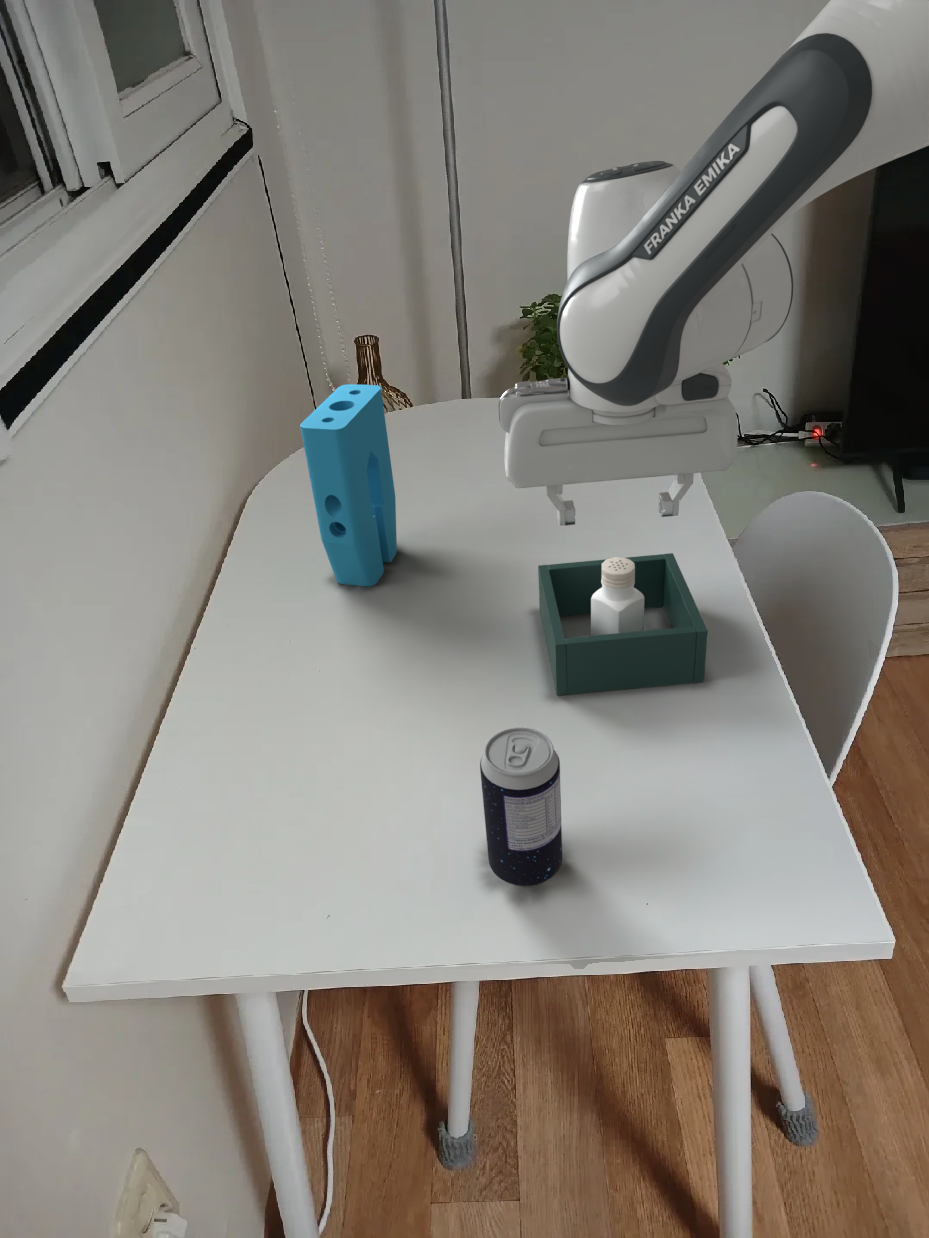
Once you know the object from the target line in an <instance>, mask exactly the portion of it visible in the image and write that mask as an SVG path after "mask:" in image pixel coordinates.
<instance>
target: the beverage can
mask: <svg viewBox="0 0 929 1238" xmlns="http://www.w3.org/2000/svg"><path fill="white" fill-rule="evenodd" d="M479 769H480V771H479V772H480V780H481V782H480V783H481V791H482V804H483V815H484V824H485V835H486V846H487V856H488V857H487V859H488V864H489V868H490V869H491V871H492V872H493V873H494V875H495V876H496V877H497V878H499V879H500V880H502V881H503V882H505V883H508V884H510V885H514V886H518V887H519V886H520V887H531V886H536V885H540V884H543V883H545V882H547V881H549V880H550V879H551V878H553V877H554V876H555V875H556V874H557V872H558V871H559V869H560V868H561V865H562V863H563V835H562V834H563V832H562V831H563V830H562V829H563V828H562V799H561V792H562V791H561V763H560V758H559V755H558V753H557V751H556V750H555V748H554V744H553V742H552V741H551V739H550V738H549V737H548V736H547V735H546V734H545V733H543V732H541V731H539V730H537V729H534V728H528V727H510V728H506V729H503V730H501V731H498V732H497V733H496V734H494V735H493V736H492V737H490V738H489V740H488V741H487V743H486V744H485V747H484V753H483V754H482V756H481V759H480V761H479Z"/></svg>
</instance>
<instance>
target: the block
mask: <svg viewBox="0 0 929 1238" xmlns="http://www.w3.org/2000/svg"><path fill="white" fill-rule="evenodd" d="M382 392H383V391H382V387H381V386H380V385H377V384H356V383H348V384H342V385H340V386H338V387H337V388H336V389H335V390H334V391H333V392H332V393H331V394H330V395H329V396H328V397H327V398H326V399H324V401H322V403H321V404H319V406H317V407H316V409H314V410H313V411H312V412H311V413H310V414H309V415H308V416H307V417H306V418H305V419H304V420H303V421H302V422H301V423H300V425H299V427H300V433H301V439H302V443H303V449H304V455H305V459H306V464H307V470H308V475H309V482H310V486H311V491H312V496H313V503H314V507H315V512H316V518H317V523H318V528H319V535H320V540H321V542H322V545H323V548H324V551H325V553H326V556H327V558H328V561H329V564H330V567H331V569H332V572H333V575H334V578H335V580H336V582H337V583H338V584H341V585H348V586H357V587H358V586H359V587H373V586H375V585H377V583H379V580H380V579H381V578H382V576H383V575H384V572H385V570H384V563H391V562H392V561H393V559H394V558H395V556H396V555H397V552H398V551H397V550H398V548H397V547H398V546H397V509H396V507H397V506H396V504H397V503H396V491H395V482H394V475H393V468H392V461H391V460H392V459H391V453H390V447H389V439H388V438H389V437H388V431H387V424H386V415H385V409H384V399H383V393H382Z"/></svg>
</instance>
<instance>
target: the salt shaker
mask: <svg viewBox="0 0 929 1238" xmlns="http://www.w3.org/2000/svg"><path fill="white" fill-rule="evenodd" d="M604 560H605V559H604ZM601 583H602V588H600V589H599V590H597V591H596V592H595V593H594V594H593V595H592V597H591V613H590V636H593V635H604V634H615V633H626V632H637V631H644V626H645V625H644V623H645V622H644V621H645V608H644V599H645V598H644V596H643V594H642V593H641V592H640V591H638V590H637V589H636V588H634V584H635V563H634V562H632V561H631V560H630V559H627V557H623V556H616V557H615V556H614V557H610V558H607V560H605V561H604V562H603V563H602V579H601Z"/></svg>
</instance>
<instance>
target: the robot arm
mask: <svg viewBox="0 0 929 1238" xmlns="http://www.w3.org/2000/svg"><path fill="white" fill-rule="evenodd" d="M926 147H929V0H829V1H828V2H827V3H826V5H825V6H824V7H823V8H822V9H821V10H820V11H819V12H818V14H817V15H815V17H814V19H812V21H811V22H810V23H809V24H808V25H807V26H806V28H805V29H804V30H803V31H802V32H801V33H800V34H799V35H798V36H797V37H796V39H795V40H794V41H793V42H792V43H791V44H790V45H789V47H788V48H787V49H786V50H785V52H783V54H781V56H780V57H779V58H778V59H777V61H775V62H774V64H773V65H772V66H771V67H770V68H769V69H768V71H766V72H765V74H764V75H763V76H762V77H761V78H760V80H759V81H757V82H756V83H755V84H754V85H753V87H752V88H751V89H750V90H749V91H748V92H747V93H746V94H745V95H744V96H743V97H742V98H741V99H740V100H739V102H738V103H737V104H736V105H735V107H733V108H732V110H731V111H730V112H729V113H728V114H727V115H726V116H725V118H724V119H723V120H722V121H721V123H720V124H719V125H718V126H717V128H715V129H714V131H713V132H712V133H711V134H710V135H709V137H708V138H707V139H706V141H704V143H703V144H702V146H701V147H700V148H699V149H698V150H697V152H696V153H695V154H694V155H693V156H692V157H691V159H690V160H689V161H688V162H687V163H686V165H685V166H683V168H682V170H680V169H679V167H677V165H675V164H673V163H670V162H666V161H663V160H650V161H649V160H648V161H643V162H642V161H641V162H636V163H630V164H629V165H628V164H627V165H623V166H616V167H613V168H608V169H606V170H605V169H604V170H602V171H597V172H594V173H592V174H590V175H589V176H587V177H585V179H583V180H582V182H581V183H579V184H578V187H577V188H576V191H575V194H574V197H573V201H572V204H571V210H570V215H569V222H568V223H569V225H568V236H567V257H566V258H567V259H566V261H567V262H566V263H567V264H566V267H567V269H566V270H567V271H566V274H567V275H566V277H567V280H566V283H565V284H566V285H565V287H564V289H563V292H562V295H561V298H560V302H559V307H558V312H557V320H556V337H557V344H558V345H557V346H558V348H559V352H560V355H561V357H562V360H563V362H564V364H565V366H566V367H567V377H559V378H549V379H544V380H540V381H539V380H538V381H531V380H525V381H519V382H516V383H515V384H514V386H513V387H511V388H509V389H507V390H505V392H503V394H502V395H501V396H500V398H499V401H498V421H499V424H500V427H501V428H502V430H504V431H505V436H504V437H505V439H504V470H505V475H506V479H507V481H508V482H509V483H510V484H511V485H512V486H513V487H514V488H516V489H528V488H529V489H531V488H540V487H541V488H542V487H544V489H545V492H546V496H547V497H548V499H549V500H550V501H551V503H552V505H553V506H554V507H555V509H556V517H557V523H558V526H559V527H563V526H564V527H565V526H573V525H575V526H576V507H575V504H574V501H573V499H572V500H571V499H570V500H564V499H563V497H562V496H561V495H563V494H564V493H563V491H564V490H563V488H564V487H563V486H565V485H575V484H577V485H578V484H585V483H586V484H587V483H598V482H609V481H622V480H632V479H633V480H635V479H645V478H657V477H669V476H673V477H674V480H673V482H672V484H671V485H670V487H669V489H668V490H667V491H664V492H663V491H662V492H658V501H659V502H658V513H659V514H660V517H661V518H664V517H665V518H666V517H668V518H669V517H678V516H679V510H680V501H681V500H682V499H683V498H684V496H685V495H686V494H687V492H688V491H689V489H690V488H691V487H692V485H693V484H694V475H695V474H702V473H703V474H704V473H713V472H714V473H715V472H716V473H717V472H725V471H727V470H728V469H729V468H730V467H731V466H732V465H733V464H734V462H735V461H736V459H737V453H738V418H737V417H738V416H737V411H736V408H735V406H734V404H733V402H732V401H731V399H730V398H729V395H730V393H731V390H732V377H731V375H730V372H729V370H728V369H727V366H726V365H725V364H724V363H725V362H728V361H730V360H732V359H736V358H737V357H740V356H742V355H744V354H746V353H748V352H751V351H753V350H755V349H757V348H758V347H760V346H762V345H763V344H765V343H767V342H769V341H770V340H772V339H773V338H774V337H776V336H777V335H778V333H779V332H780V331H781V330H782V328H783V327H784V325H785V323H786V321H787V319H788V317H789V314H790V311H791V307H792V303H793V299H794V274H793V269H792V266H791V265H792V264H791V261H790V259H789V256H788V253H787V252H786V250H785V247H784V246H783V244H782V243H781V241H780V240H779V239H778V238H777V236H776V235H775V234H774V232H775V231H776V230H777V229H778V228H779V227H780V226H781V225H782V224H784V223H785V222H786V221H787V220H789V218H791V216H793V215H794V214H795V213H797V212H798V211H800V210H801V209H802V208H804V207H805V206H806V205H808V204H810V203H811V202H812V201H814V200H815V199H817V198H819V197H820V196H822V195H824V194H826V193H827V192H829V191H830V190H833V189H834V188H836V187H838V186H840V185H842V184H843V183H846V182H847V181H849V180H851V179H854V178H856V177H858V176H861V175H862V174H865V173H866V172H868V171H871V170H873V169H875V168H877V167H878V168H879V166H882V165H885V164H887V163H889V162H892V161H894V160H896V159H900V158H901V157H904V156H907V155H909V154H911V153H914V152H916V151H918V150H921V149H924V148H926Z"/></svg>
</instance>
